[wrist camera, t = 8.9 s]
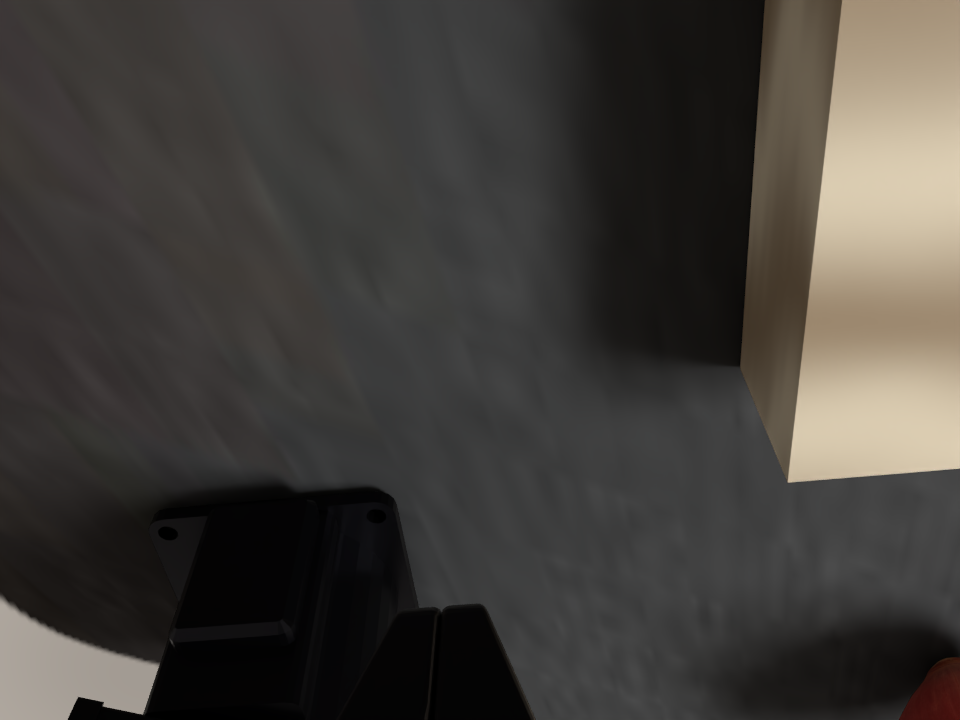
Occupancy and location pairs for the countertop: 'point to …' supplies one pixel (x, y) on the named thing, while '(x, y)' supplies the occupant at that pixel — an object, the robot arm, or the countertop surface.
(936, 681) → the onion
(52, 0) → the countertop surface
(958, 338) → the soap dish
